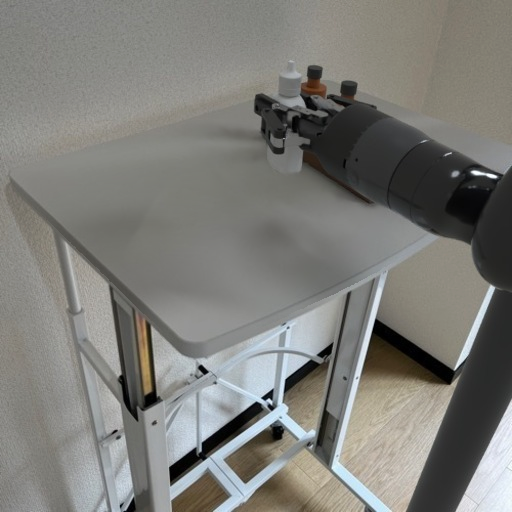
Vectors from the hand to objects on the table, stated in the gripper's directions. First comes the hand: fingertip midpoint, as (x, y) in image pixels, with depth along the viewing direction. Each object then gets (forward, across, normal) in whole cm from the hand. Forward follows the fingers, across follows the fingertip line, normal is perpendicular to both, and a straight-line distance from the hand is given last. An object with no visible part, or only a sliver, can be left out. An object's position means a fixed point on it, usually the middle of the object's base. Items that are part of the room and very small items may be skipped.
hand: (273, 99), depth 63 cm
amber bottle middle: (+9, -21, +16) cm, 28 cm away
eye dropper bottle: (-3, 0, +7) cm, 8 cm away
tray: (+9, -21, +17) cm, 28 cm away
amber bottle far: (+17, -21, +16) cm, 31 cm away
